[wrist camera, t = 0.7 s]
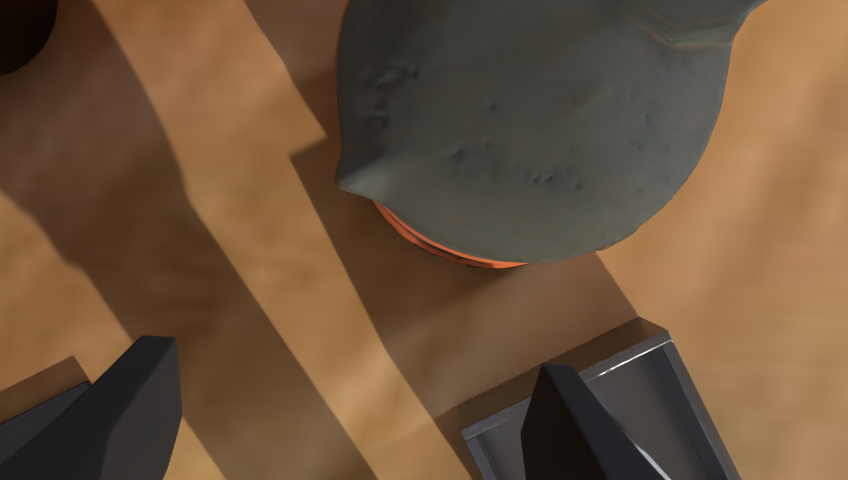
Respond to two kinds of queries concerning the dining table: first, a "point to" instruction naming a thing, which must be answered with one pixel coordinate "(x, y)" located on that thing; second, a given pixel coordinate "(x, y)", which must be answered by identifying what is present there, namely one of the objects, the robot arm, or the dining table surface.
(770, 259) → the dining table surface
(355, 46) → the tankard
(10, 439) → the mat
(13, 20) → the water bottle
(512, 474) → the dark grey tray
